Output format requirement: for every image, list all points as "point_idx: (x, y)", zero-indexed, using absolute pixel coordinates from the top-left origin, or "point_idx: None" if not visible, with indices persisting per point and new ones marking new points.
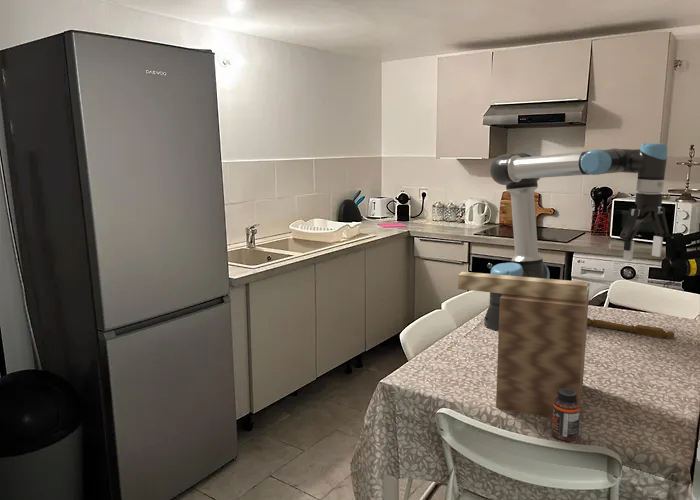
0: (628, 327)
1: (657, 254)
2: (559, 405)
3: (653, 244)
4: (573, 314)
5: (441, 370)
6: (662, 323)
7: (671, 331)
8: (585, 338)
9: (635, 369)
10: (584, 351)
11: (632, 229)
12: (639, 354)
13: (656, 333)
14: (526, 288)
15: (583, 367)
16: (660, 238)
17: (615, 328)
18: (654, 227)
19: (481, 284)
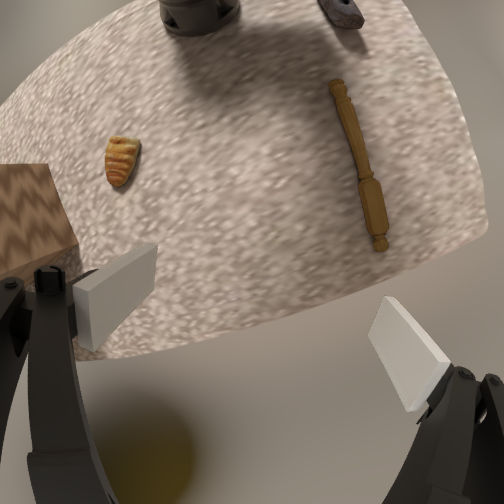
0: (360, 168)
1: (375, 332)
2: None
3: (410, 331)
4: None
5: (18, 117)
6: (447, 199)
7: (384, 247)
8: (18, 272)
9: (175, 267)
10: (28, 269)
11: (14, 392)
12: (247, 241)
13: (369, 223)
14: None
15: (45, 261)
16: (406, 402)
17: (350, 144)
18: (427, 444)
19: None
